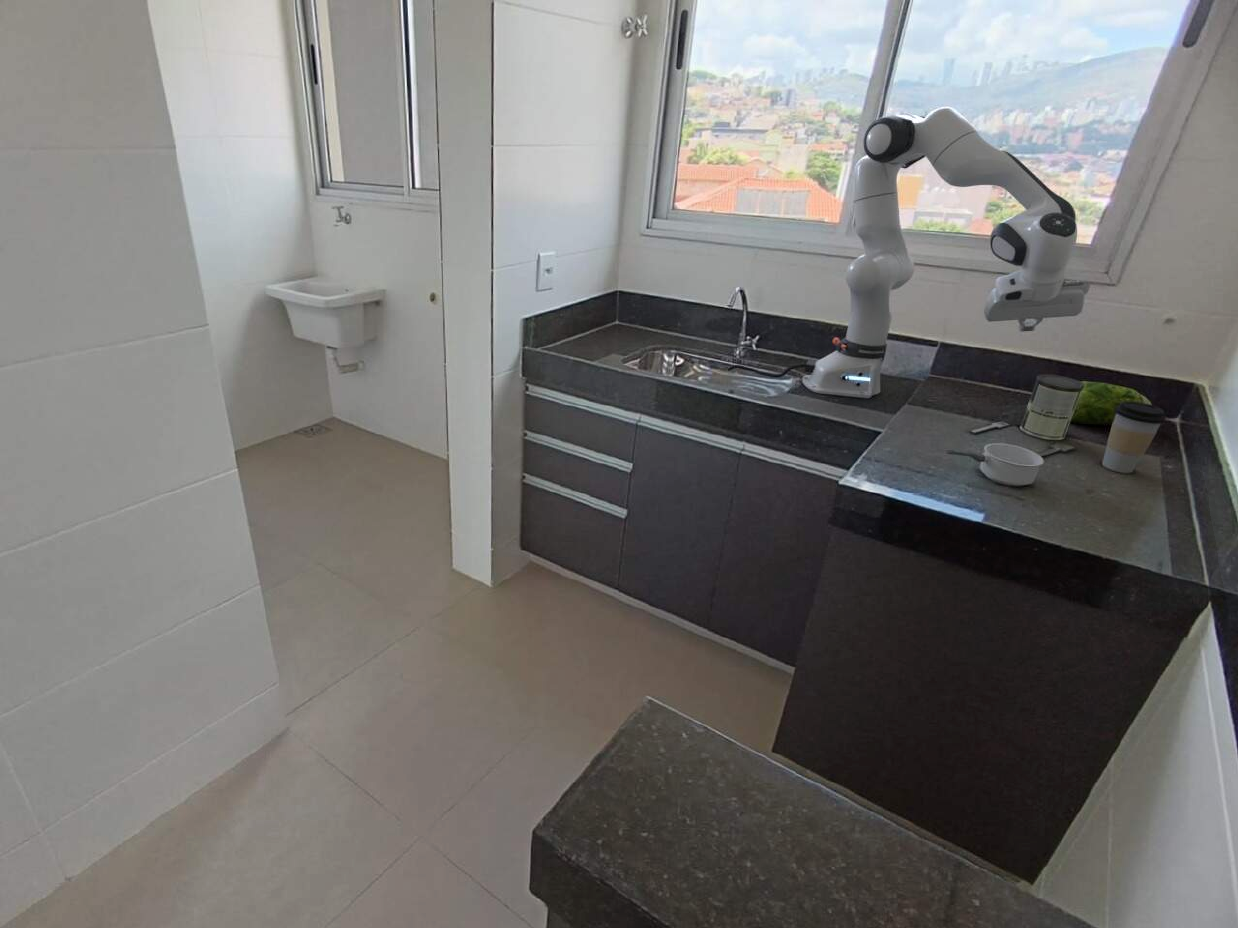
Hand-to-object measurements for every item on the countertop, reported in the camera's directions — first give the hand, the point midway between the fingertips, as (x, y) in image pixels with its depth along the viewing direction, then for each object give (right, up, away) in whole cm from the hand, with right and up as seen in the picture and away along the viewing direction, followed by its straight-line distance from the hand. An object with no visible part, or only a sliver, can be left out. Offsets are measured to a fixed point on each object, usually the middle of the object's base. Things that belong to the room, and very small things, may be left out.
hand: (1026, 329), depth 162 cm
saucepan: (-20, -36, -18) cm, 45 cm away
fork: (-5, -24, +8) cm, 26 cm away
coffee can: (+9, -25, +8) cm, 28 cm away
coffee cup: (+15, -34, -10) cm, 39 cm away
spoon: (+4, -30, -4) cm, 31 cm away
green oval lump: (+30, -23, +16) cm, 41 cm away
